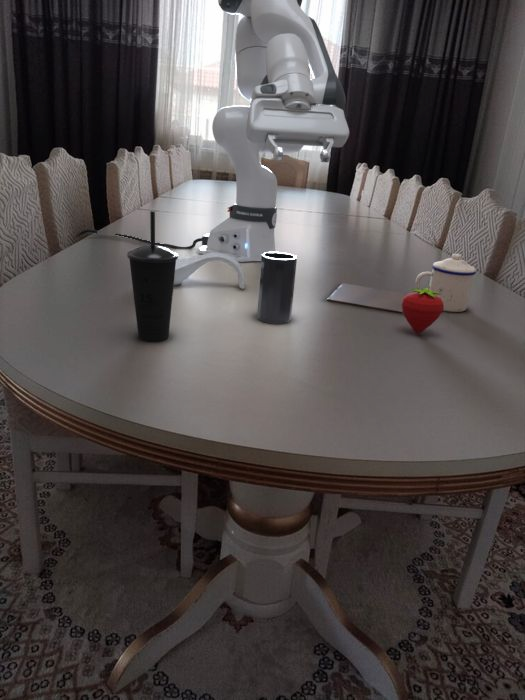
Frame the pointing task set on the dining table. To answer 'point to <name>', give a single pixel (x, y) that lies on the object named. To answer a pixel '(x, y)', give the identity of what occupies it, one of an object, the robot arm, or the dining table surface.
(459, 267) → the teacup with lid
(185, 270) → the white arch
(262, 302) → the waste bin
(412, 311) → the strawberry
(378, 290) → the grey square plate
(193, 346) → the dining table surface
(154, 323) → the drinking cup
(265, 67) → the robot arm
